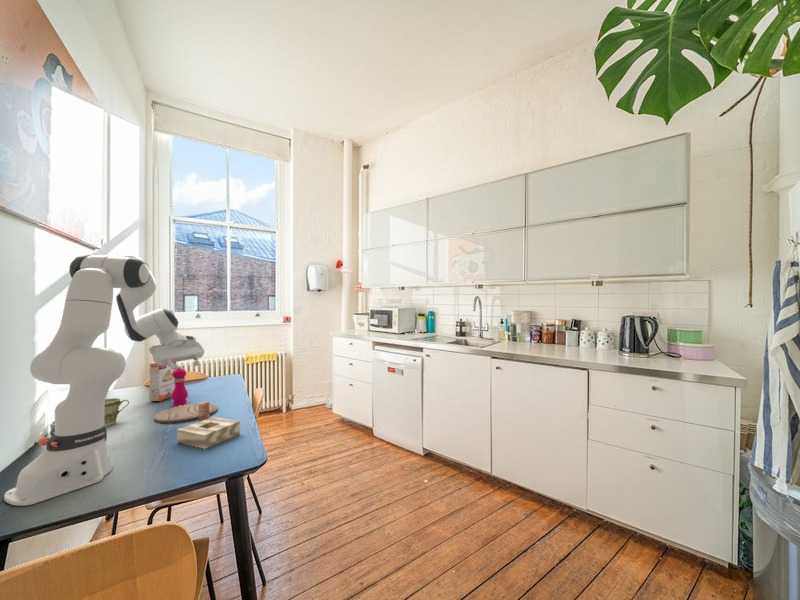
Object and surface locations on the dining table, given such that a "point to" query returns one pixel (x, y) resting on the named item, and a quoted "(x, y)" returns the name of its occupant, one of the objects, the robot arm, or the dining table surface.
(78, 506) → the dining table surface
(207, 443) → the socket block
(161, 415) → the trivet
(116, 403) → the ceramic cup
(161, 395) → the cracker box
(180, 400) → the pepper mill
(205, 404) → the peg
